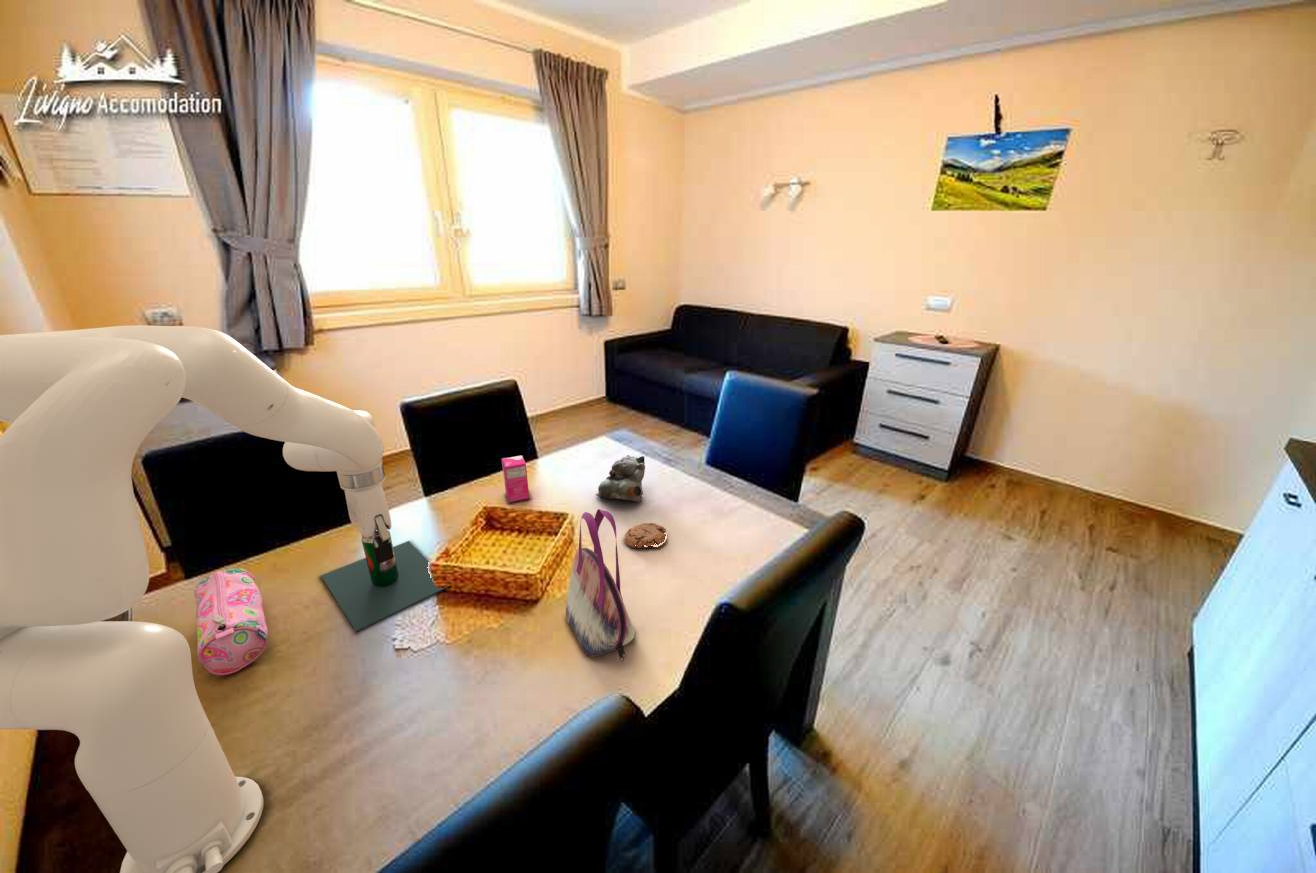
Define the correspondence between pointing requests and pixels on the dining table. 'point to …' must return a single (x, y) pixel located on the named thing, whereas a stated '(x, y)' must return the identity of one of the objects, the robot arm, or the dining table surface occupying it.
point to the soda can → (379, 572)
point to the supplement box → (515, 479)
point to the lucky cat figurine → (624, 480)
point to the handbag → (597, 597)
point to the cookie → (645, 535)
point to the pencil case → (229, 621)
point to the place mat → (381, 588)
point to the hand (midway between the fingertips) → (379, 553)
